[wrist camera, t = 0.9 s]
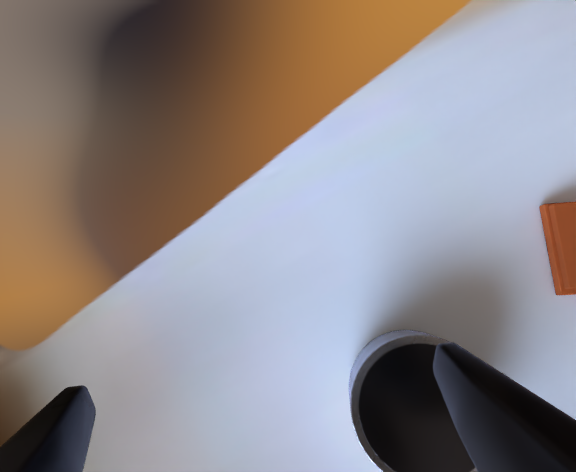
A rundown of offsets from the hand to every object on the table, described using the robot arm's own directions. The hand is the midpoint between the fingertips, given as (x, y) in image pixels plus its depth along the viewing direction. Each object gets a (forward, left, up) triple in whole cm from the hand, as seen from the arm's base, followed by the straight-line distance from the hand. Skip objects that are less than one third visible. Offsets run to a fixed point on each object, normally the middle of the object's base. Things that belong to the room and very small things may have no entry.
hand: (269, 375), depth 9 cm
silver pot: (-4, -6, -14) cm, 16 cm away
